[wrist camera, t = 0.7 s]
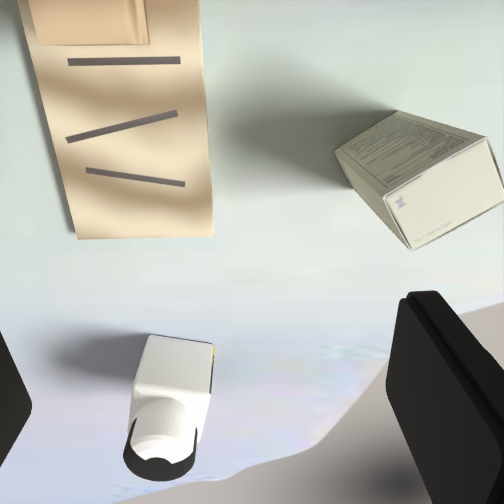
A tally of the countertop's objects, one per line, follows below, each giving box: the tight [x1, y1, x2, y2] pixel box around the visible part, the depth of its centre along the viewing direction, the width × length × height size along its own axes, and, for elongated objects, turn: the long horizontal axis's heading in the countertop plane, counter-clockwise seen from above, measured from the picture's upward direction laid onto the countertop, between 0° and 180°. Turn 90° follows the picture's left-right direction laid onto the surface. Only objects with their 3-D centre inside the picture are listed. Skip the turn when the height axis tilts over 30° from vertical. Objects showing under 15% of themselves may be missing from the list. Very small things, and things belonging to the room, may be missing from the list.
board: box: [17, 0, 214, 240], centre depth 29 cm, size 24×12×1 cm, turn 1°
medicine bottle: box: [123, 335, 215, 481], centre depth 37 cm, size 7×7×12 cm
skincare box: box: [334, 111, 504, 251], centre depth 27 cm, size 6×4×12 cm
